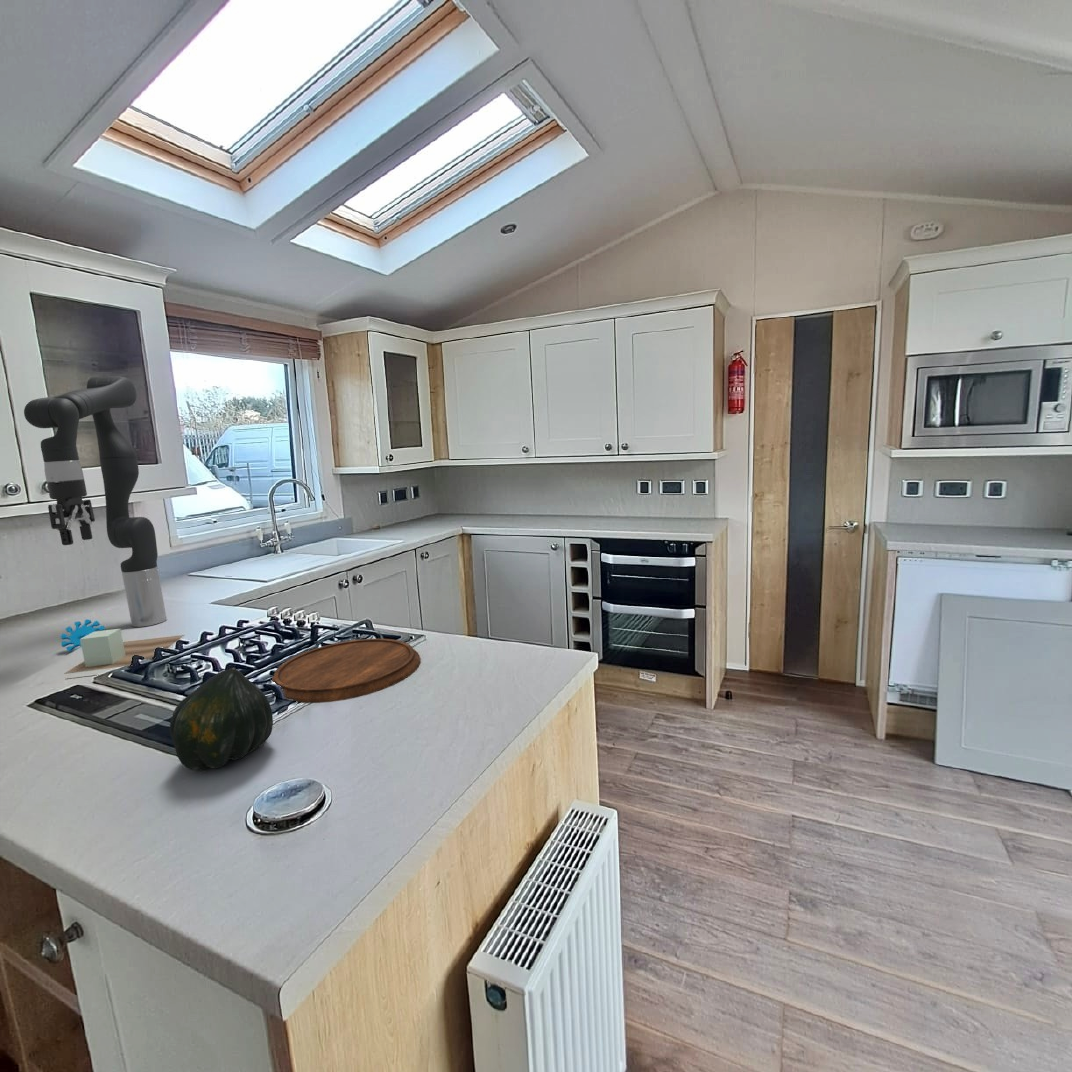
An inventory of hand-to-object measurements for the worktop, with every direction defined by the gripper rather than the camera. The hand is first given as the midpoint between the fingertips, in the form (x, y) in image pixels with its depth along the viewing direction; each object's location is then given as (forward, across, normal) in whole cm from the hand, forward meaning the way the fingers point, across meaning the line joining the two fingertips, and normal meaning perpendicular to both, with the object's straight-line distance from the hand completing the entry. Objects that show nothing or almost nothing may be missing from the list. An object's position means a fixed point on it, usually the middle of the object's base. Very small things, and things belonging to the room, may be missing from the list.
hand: (78, 542), depth 151 cm
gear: (+30, -6, -6) cm, 32 cm away
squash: (+30, +70, +54) cm, 93 cm away
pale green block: (+29, +13, +8) cm, 32 cm away
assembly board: (+30, +8, +11) cm, 33 cm away
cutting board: (+31, +38, +69) cm, 84 cm away
